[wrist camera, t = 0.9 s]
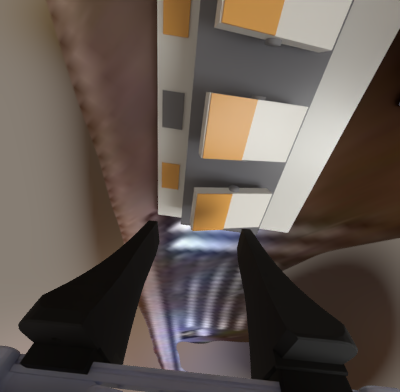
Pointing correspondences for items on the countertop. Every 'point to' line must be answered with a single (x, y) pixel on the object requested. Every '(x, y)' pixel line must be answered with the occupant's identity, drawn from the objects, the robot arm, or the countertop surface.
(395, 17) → the switch unit
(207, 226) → the block
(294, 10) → the rocker
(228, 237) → the countertop surface
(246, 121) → the rocker
